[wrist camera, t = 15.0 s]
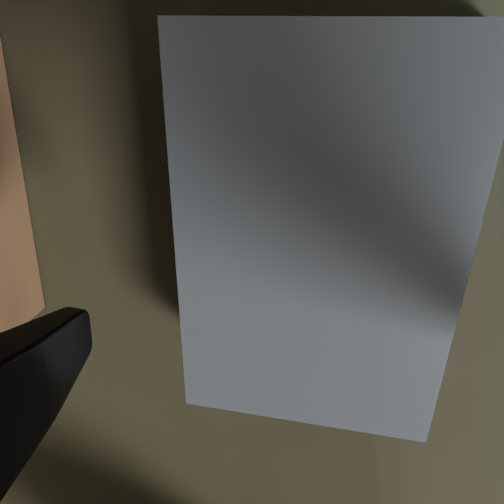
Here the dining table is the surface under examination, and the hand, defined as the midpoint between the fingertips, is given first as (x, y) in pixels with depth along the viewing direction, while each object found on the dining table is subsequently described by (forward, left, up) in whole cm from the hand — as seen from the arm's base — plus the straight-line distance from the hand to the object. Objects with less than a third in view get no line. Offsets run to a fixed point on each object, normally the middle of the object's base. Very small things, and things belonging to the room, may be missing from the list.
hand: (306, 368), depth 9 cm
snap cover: (0, +2, -4) cm, 5 cm away
